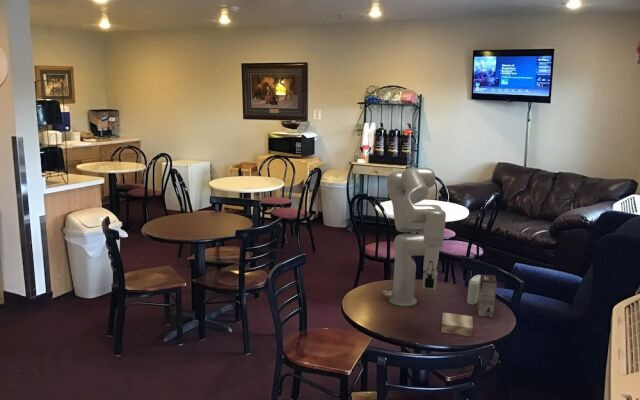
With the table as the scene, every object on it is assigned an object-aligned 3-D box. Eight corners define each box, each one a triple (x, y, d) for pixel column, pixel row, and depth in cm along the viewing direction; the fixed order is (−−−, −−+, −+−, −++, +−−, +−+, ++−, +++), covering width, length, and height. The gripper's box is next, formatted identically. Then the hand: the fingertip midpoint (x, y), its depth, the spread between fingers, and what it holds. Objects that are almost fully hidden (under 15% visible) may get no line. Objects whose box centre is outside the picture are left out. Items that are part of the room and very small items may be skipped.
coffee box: (476, 307, 249) (480, 273, 246) (491, 309, 248) (495, 275, 245) (478, 315, 240) (481, 280, 237) (493, 317, 239) (497, 282, 236)
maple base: (440, 333, 223) (441, 323, 222) (441, 321, 234) (442, 312, 233) (471, 337, 220) (472, 328, 219) (471, 325, 231) (472, 316, 231)
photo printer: (474, 305, 251) (477, 279, 249) (465, 303, 254) (468, 277, 252) (483, 299, 259) (486, 274, 257) (475, 297, 262) (477, 272, 259)
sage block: (422, 287, 218) (423, 273, 217) (423, 283, 223) (424, 269, 221) (435, 289, 217) (436, 275, 215) (436, 285, 221) (437, 270, 220)
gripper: (425, 234, 225) (421, 277, 229) (421, 245, 209) (417, 291, 212) (444, 236, 223) (440, 279, 227) (442, 248, 207) (437, 294, 211)
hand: (429, 284), depth 220 cm, fingers closed on sage block, 5 cm apart
